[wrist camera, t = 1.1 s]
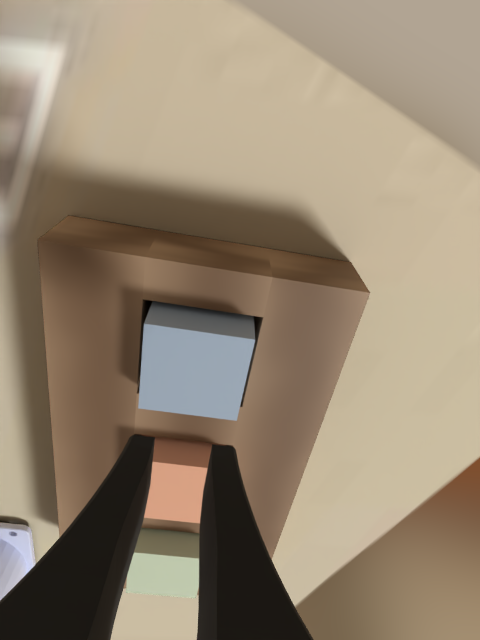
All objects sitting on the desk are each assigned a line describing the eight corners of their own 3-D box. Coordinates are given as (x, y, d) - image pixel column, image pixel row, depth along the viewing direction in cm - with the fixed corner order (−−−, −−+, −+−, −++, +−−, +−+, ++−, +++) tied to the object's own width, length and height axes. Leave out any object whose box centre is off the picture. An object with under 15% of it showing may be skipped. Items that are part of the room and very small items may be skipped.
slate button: (149, 371, 19) (138, 408, 16) (155, 293, 17) (143, 323, 15) (236, 383, 19) (236, 420, 17) (253, 308, 17) (255, 339, 15)
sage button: (135, 550, 25) (125, 592, 23) (138, 510, 23) (128, 552, 21) (199, 556, 26) (196, 598, 24) (207, 517, 24) (205, 559, 22)
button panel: (79, 535, 28) (63, 583, 25) (68, 215, 17) (37, 240, 14) (254, 552, 29) (256, 599, 26) (350, 262, 18) (370, 292, 15)
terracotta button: (141, 475, 22) (131, 516, 20) (145, 420, 20) (134, 459, 18) (215, 483, 22) (213, 524, 20) (226, 430, 20) (225, 470, 18)
